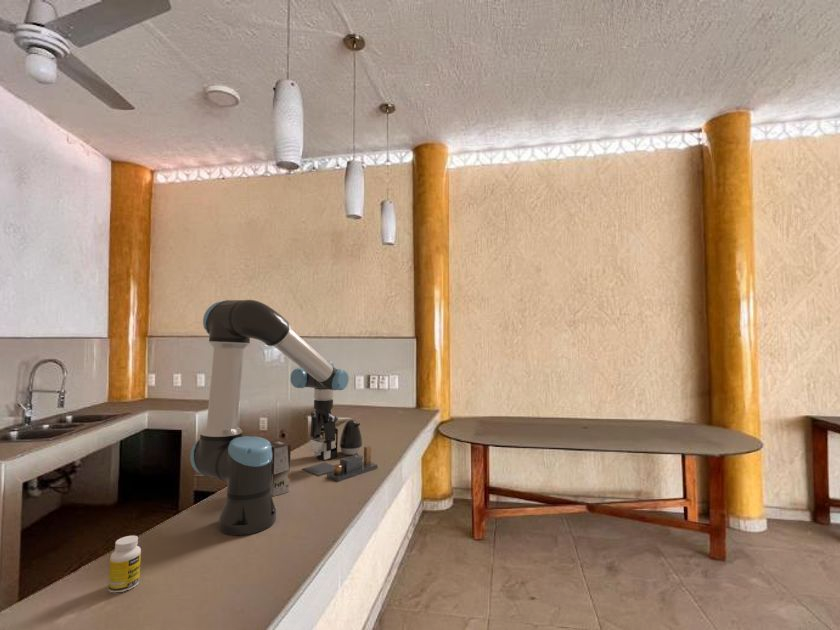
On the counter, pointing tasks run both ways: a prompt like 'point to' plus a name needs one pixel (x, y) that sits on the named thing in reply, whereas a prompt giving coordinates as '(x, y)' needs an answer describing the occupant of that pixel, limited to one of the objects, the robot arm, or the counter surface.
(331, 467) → the mat
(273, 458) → the coffee box
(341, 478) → the grey stand
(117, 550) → the supplement bottle
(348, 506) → the counter surface
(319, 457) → the french press
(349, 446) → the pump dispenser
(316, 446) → the white box with knob
